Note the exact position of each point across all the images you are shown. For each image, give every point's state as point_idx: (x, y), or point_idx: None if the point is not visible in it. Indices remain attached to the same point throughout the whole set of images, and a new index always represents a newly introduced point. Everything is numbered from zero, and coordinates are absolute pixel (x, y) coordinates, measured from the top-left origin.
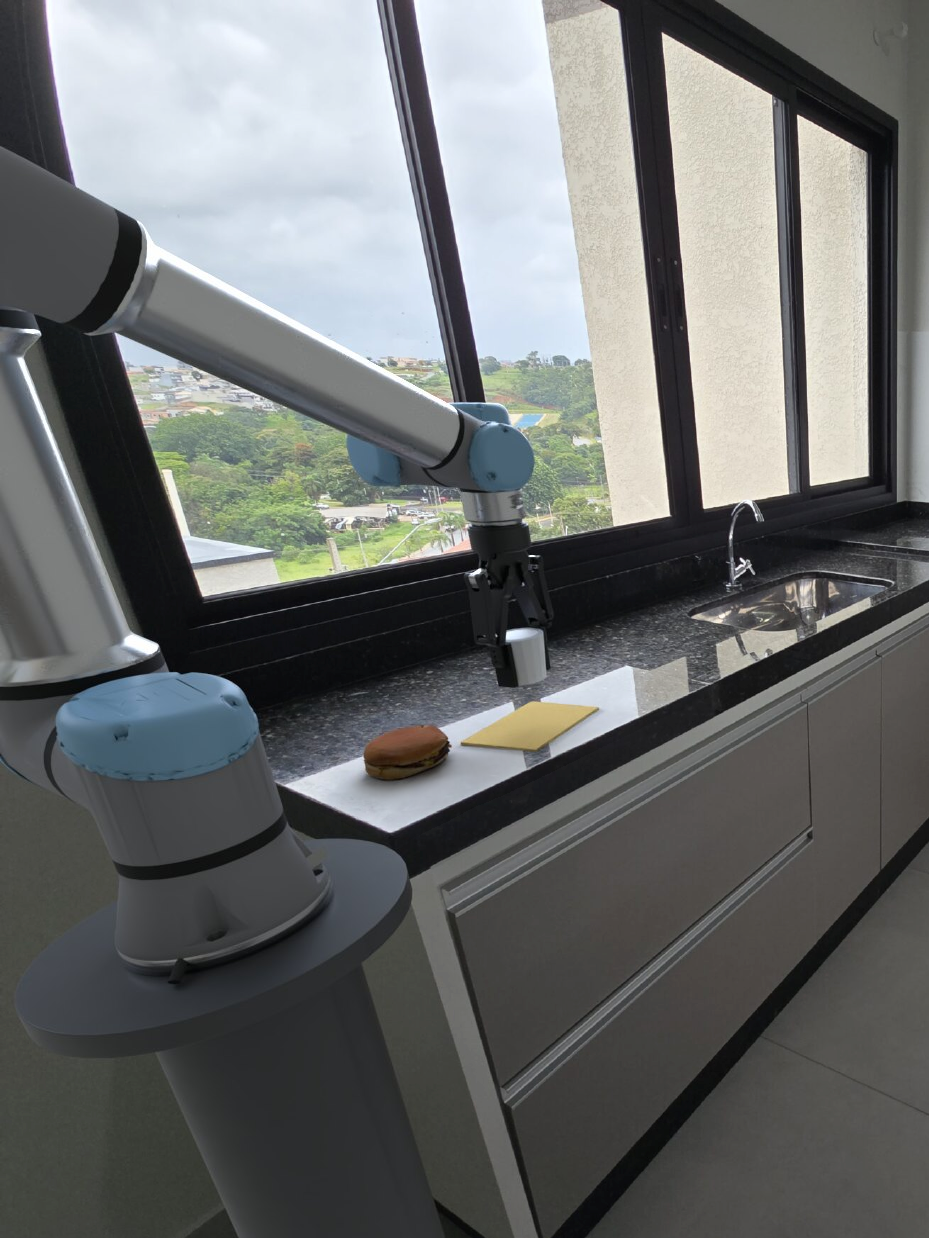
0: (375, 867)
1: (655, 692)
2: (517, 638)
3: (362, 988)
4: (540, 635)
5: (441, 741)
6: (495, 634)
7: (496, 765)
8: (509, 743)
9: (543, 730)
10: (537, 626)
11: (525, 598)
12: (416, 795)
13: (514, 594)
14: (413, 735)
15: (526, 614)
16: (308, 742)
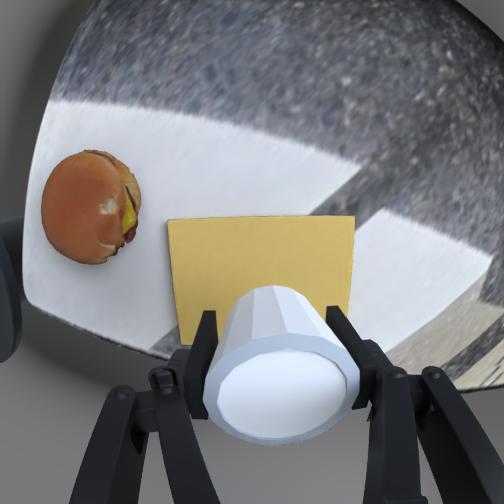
0: (2, 328)
1: (410, 356)
2: (246, 419)
3: (23, 302)
4: (290, 442)
5: (94, 263)
6: (146, 444)
7: (140, 310)
8: (185, 299)
9: None
10: (372, 394)
11: (370, 485)
12: (60, 269)
13: (381, 479)
14: (71, 231)
15: (381, 409)
16: (147, 8)
